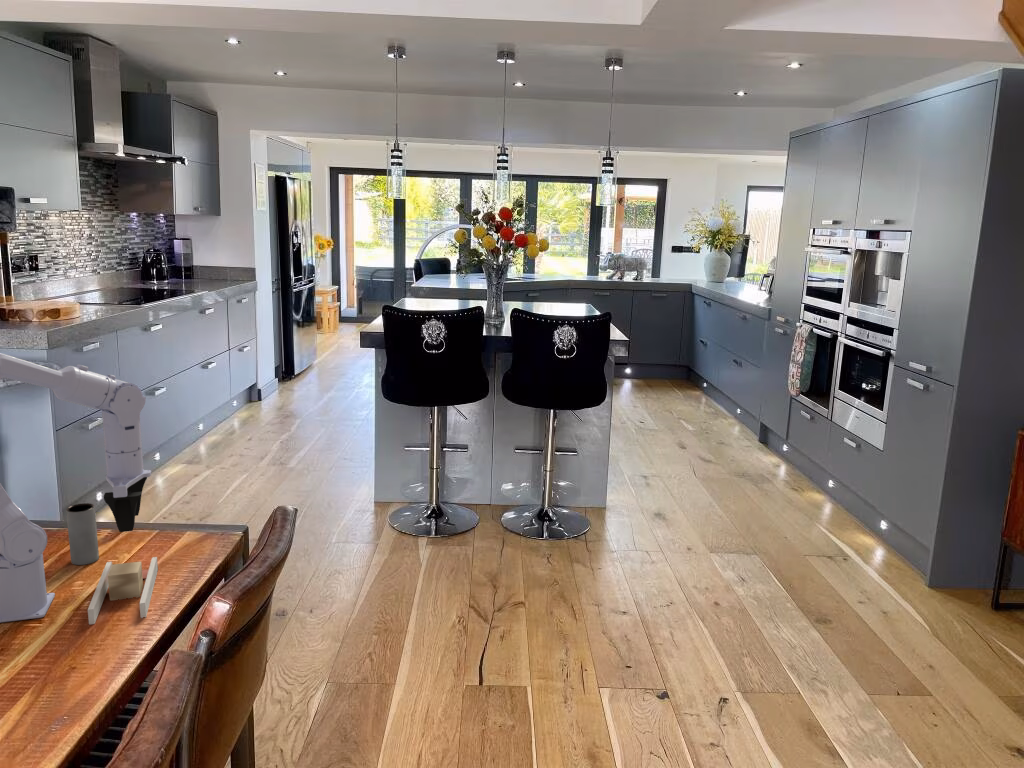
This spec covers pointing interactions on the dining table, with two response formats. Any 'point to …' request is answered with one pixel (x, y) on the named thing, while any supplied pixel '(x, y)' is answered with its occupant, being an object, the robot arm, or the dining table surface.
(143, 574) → the pad
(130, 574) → the block
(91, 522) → the grey hollow tube
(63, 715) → the dining table surface
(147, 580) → the channel
